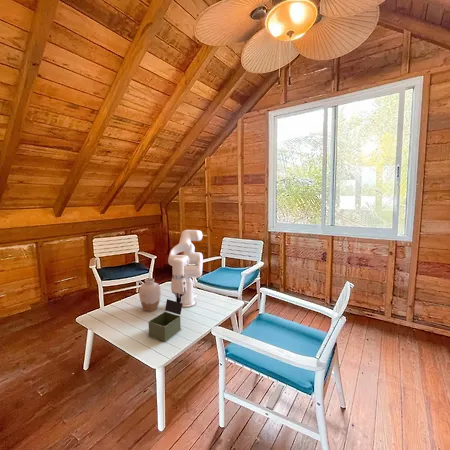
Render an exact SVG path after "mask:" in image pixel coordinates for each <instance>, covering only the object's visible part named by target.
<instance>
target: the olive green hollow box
mask: <svg viewBox="0 0 450 450" xmlns="http://www.w3.org/2000/svg"><path fill="white" fill-rule="evenodd" d="M164 326H165V327H164ZM181 326H182V325H181V315H178V314H175V313H172V312H168V311H162V313H160V314H158V315H157V316H155V317H153V318H152V319H150V320H149V321H148V337H151V338H153V339H156V340H158V341H161V342H165V343H166V342H167V341H168V340H169V339H171V338H172V337H173V336H175V335H176V334H177V333H179V332H180V331H181V329H182V328H181Z"/></svg>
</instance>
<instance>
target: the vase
mask: <svg viewBox="0 0 450 450" xmlns="http://www.w3.org/2000/svg"><path fill="white" fill-rule="evenodd" d="M161 295H162V291H161V285H160V284H159V283H157V282H155V278H152V277H149V278H146V279H144V283H142V284H141V285H140V286H139V289H138V296H139V302H140V304H141V307H142V308H143V310H144V311H145V312H153V311H156V310H157V309H158V307H159V305H160V301H161Z"/></svg>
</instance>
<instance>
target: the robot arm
mask: <svg viewBox="0 0 450 450" xmlns="http://www.w3.org/2000/svg"><path fill="white" fill-rule="evenodd" d="M203 237H204V236H203V232H202V230H198V229H184V230H183V231H181V234H180V237H179V242H178V244H176V245H174V246H173V247H172V248H171V249H170V251H169V254H168V258H167V263H168V265H169V266H172V269H171V270H172V278H171V284H170V290H171V293H172V294H174V296H175V298H176V299H175V301H176V302H179V303H183V304H182V308H183V307H184V308H189V307H193V306H195V305H196V300H195V298H197V295H196V294H194V280H193V279H194V278H195V279H199V278H201V277H202V276H203V265H204V254H203V253H202V252H200V251H199V252H197V251H195V249H196V247H195V245H194V244H193V242H200V241H202V240H203ZM180 253H183V254H180ZM192 278H193V279H192Z"/></svg>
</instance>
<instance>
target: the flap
mask: <svg viewBox="0 0 450 450" xmlns="http://www.w3.org/2000/svg"><path fill="white" fill-rule="evenodd" d="M182 304H183V303H179V302H176V300H173V299H166V303H165V307H164V312H169V313H172V314H175V315H179V316H181V314H182V309H183V306H182Z"/></svg>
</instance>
